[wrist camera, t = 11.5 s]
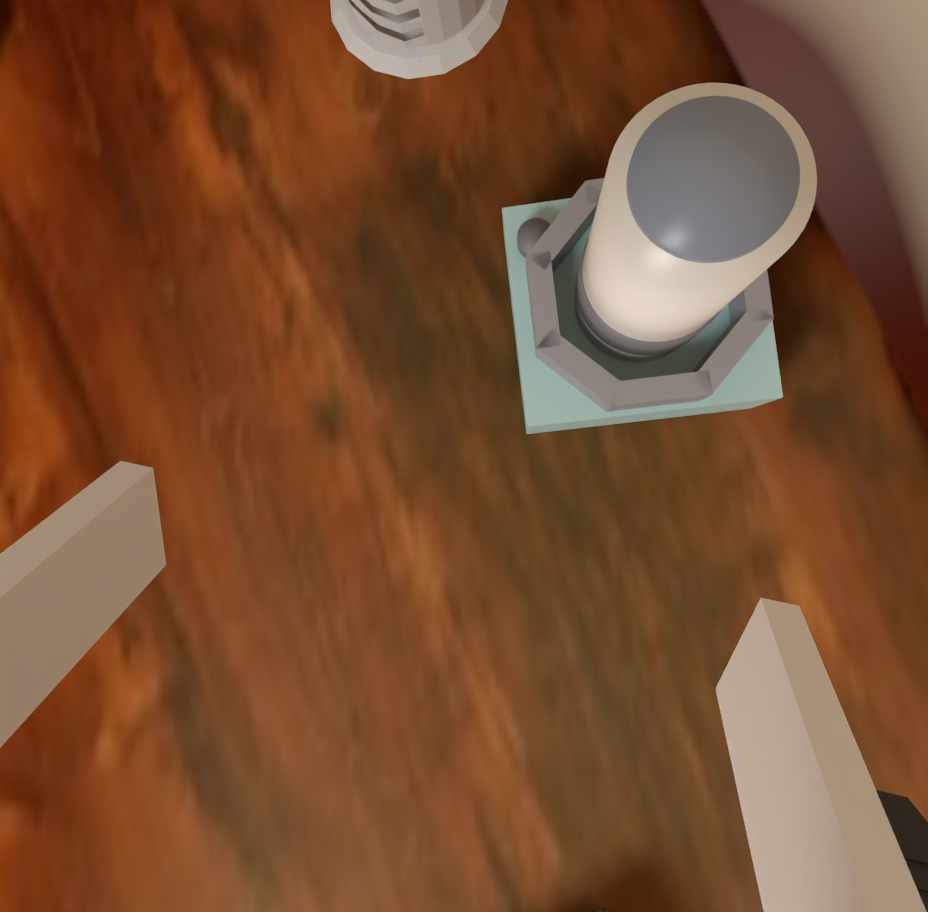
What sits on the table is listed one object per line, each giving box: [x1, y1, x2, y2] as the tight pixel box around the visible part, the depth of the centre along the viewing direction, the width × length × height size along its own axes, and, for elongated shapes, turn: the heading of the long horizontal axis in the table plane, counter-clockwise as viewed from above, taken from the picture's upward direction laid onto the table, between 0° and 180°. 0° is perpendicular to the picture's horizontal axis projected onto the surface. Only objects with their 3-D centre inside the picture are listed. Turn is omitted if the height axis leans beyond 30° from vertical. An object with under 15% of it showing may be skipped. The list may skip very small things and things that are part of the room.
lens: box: [574, 83, 817, 362], centre depth 22 cm, size 6×6×11 cm
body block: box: [502, 178, 783, 434], centre depth 29 cm, size 10×11×6 cm
